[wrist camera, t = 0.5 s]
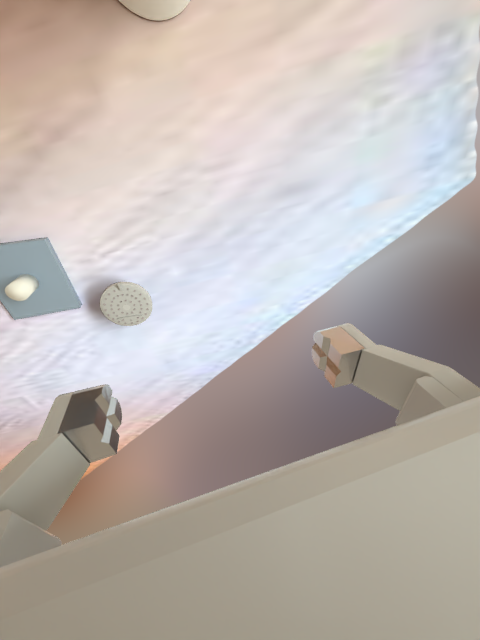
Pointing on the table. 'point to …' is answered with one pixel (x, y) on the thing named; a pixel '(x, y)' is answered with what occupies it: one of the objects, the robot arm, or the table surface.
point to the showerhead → (126, 303)
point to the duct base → (43, 271)
